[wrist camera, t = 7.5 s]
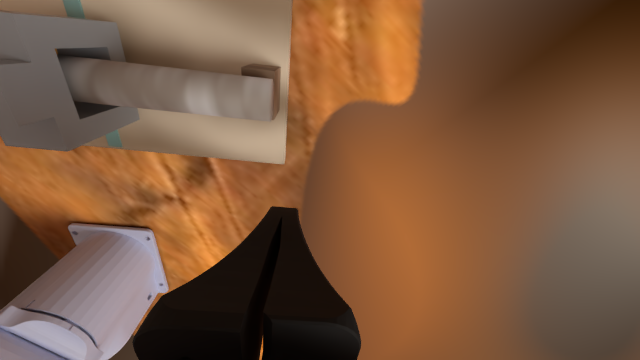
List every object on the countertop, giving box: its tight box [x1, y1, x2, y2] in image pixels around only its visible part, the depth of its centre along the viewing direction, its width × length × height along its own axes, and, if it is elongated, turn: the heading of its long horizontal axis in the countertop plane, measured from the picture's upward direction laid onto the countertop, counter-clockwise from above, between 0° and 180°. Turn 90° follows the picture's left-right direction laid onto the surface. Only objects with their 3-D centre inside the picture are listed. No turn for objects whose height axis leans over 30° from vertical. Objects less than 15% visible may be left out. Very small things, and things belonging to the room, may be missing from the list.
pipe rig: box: [0, 0, 292, 164], centre depth 16 cm, size 12×19×6 cm, turn 84°
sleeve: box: [0, 10, 140, 151], centre depth 13 cm, size 6×3×8 cm, turn 174°
